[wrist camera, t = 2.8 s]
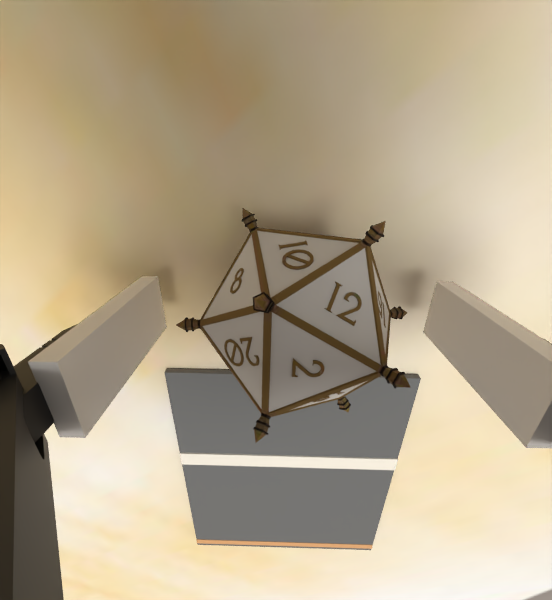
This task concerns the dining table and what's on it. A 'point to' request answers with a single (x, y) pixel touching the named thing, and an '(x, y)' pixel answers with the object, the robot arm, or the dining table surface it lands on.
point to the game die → (301, 320)
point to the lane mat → (287, 462)
